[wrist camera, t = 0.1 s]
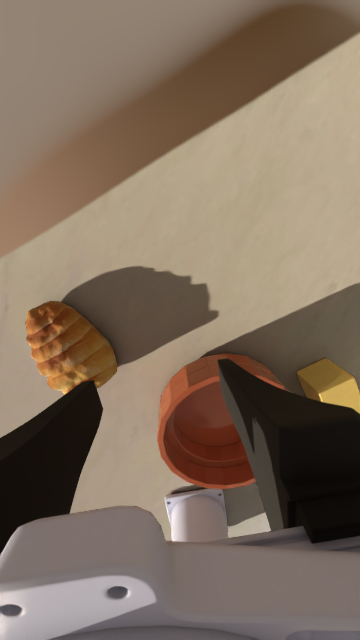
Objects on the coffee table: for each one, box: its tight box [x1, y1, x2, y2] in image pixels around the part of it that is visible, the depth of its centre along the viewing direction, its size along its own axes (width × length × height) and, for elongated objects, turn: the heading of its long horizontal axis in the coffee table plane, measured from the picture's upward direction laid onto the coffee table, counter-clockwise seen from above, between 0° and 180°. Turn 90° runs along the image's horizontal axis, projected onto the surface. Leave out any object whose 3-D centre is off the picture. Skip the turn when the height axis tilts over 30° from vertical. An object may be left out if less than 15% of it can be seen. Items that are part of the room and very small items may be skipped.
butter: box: [296, 358, 360, 414], centre depth 23 cm, size 8×4×4 cm, turn 29°
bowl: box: [157, 353, 289, 489], centre depth 23 cm, size 14×14×4 cm
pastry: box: [25, 301, 117, 395], centre depth 20 cm, size 9×7×4 cm
